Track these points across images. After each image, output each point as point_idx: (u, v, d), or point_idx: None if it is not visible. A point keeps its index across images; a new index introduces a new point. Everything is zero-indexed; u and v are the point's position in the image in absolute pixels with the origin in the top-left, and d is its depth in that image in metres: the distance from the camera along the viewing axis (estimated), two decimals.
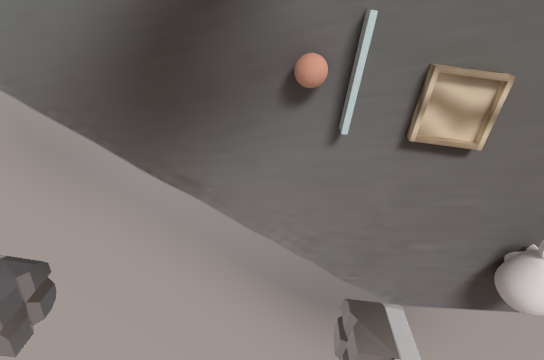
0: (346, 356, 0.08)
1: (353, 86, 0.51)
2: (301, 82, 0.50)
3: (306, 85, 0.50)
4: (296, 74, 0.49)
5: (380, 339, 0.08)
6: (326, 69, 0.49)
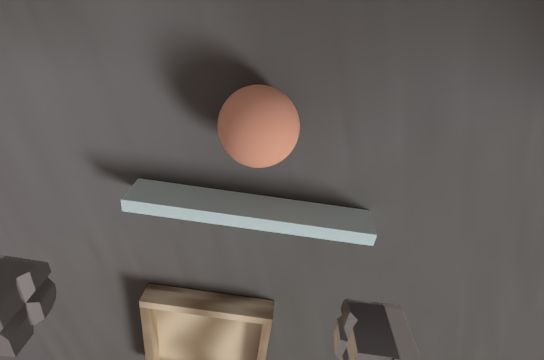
0: (346, 356, 0.08)
1: (229, 216, 0.23)
2: (230, 111, 0.19)
3: (223, 125, 0.19)
4: (249, 96, 0.19)
5: (380, 339, 0.08)
6: None
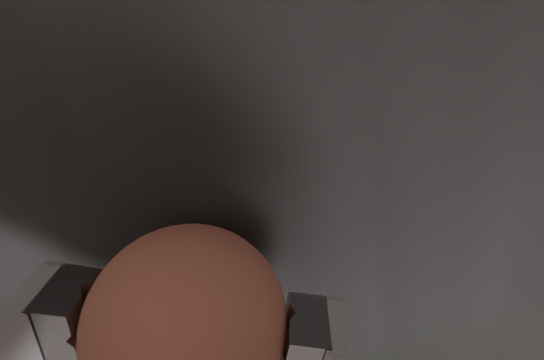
0: None
1: None
2: (91, 335, 0.07)
3: None
4: (143, 296, 0.07)
5: (315, 331, 0.08)
6: None
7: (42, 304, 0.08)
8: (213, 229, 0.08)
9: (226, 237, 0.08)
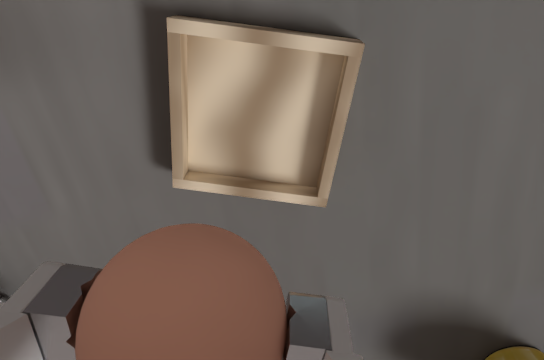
0: None
1: None
2: (90, 336, 0.07)
3: None
4: (143, 296, 0.07)
5: (315, 331, 0.08)
6: None
7: (41, 304, 0.08)
8: (213, 229, 0.08)
9: (226, 237, 0.08)
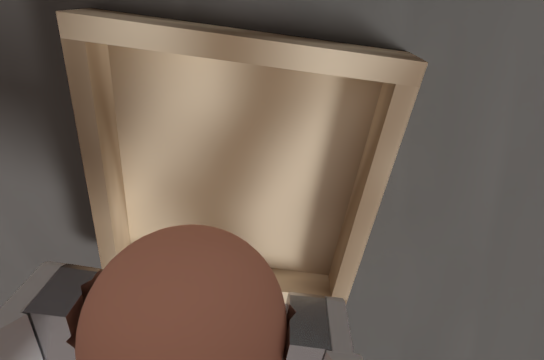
0: None
1: None
2: (90, 337, 0.07)
3: None
4: (143, 297, 0.07)
5: (315, 331, 0.08)
6: None
7: (41, 304, 0.08)
8: (213, 230, 0.08)
9: (226, 238, 0.08)
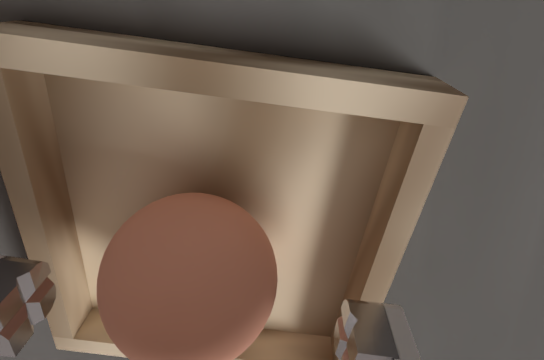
0: (346, 356, 0.08)
1: None
2: (107, 270, 0.08)
3: (97, 293, 0.08)
4: (150, 241, 0.08)
5: (380, 339, 0.08)
6: None
7: None
8: (218, 198, 0.10)
9: (227, 205, 0.09)
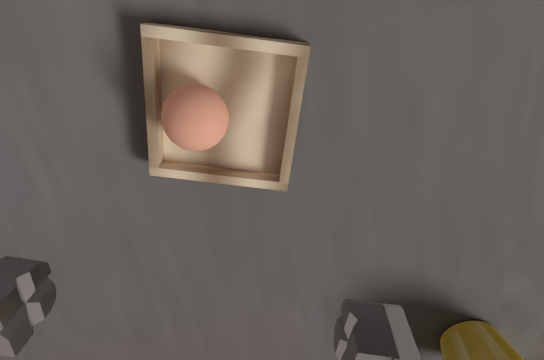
0: (346, 356, 0.08)
1: None
2: None
3: None
4: (177, 89, 0.24)
5: (380, 339, 0.08)
6: (187, 149, 0.25)
7: None
8: (210, 88, 0.25)
9: (210, 89, 0.24)
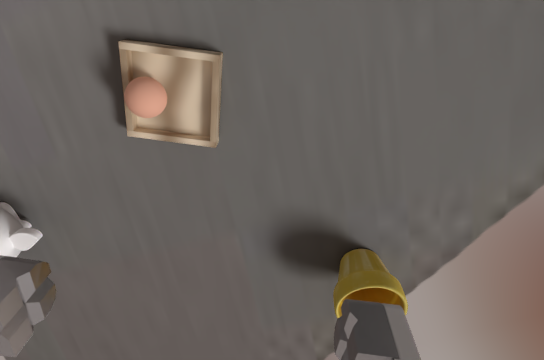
0: (346, 356, 0.08)
1: None
2: None
3: None
4: (134, 79, 0.41)
5: (380, 339, 0.08)
6: (138, 115, 0.42)
7: None
8: (154, 80, 0.41)
9: (152, 80, 0.40)
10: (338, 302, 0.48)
